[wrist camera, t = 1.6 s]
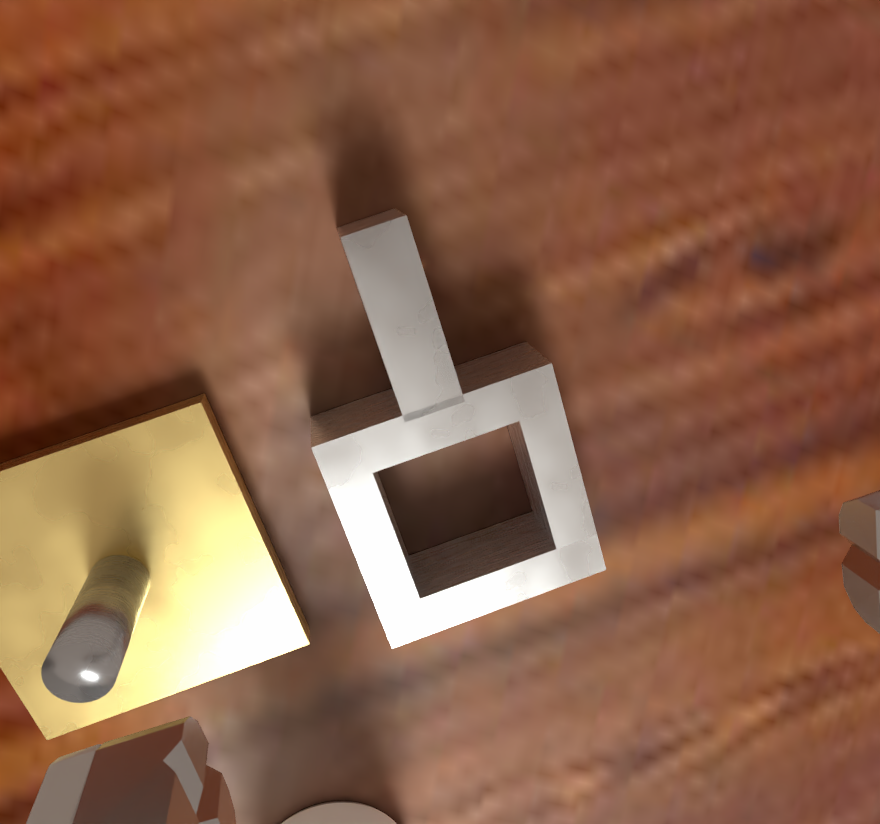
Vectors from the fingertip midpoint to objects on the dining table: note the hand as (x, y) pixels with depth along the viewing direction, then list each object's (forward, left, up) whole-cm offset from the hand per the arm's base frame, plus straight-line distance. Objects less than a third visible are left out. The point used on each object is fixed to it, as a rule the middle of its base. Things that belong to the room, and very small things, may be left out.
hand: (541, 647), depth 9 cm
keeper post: (+12, +5, -18) cm, 22 cm away
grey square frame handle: (0, +3, -18) cm, 18 cm away
